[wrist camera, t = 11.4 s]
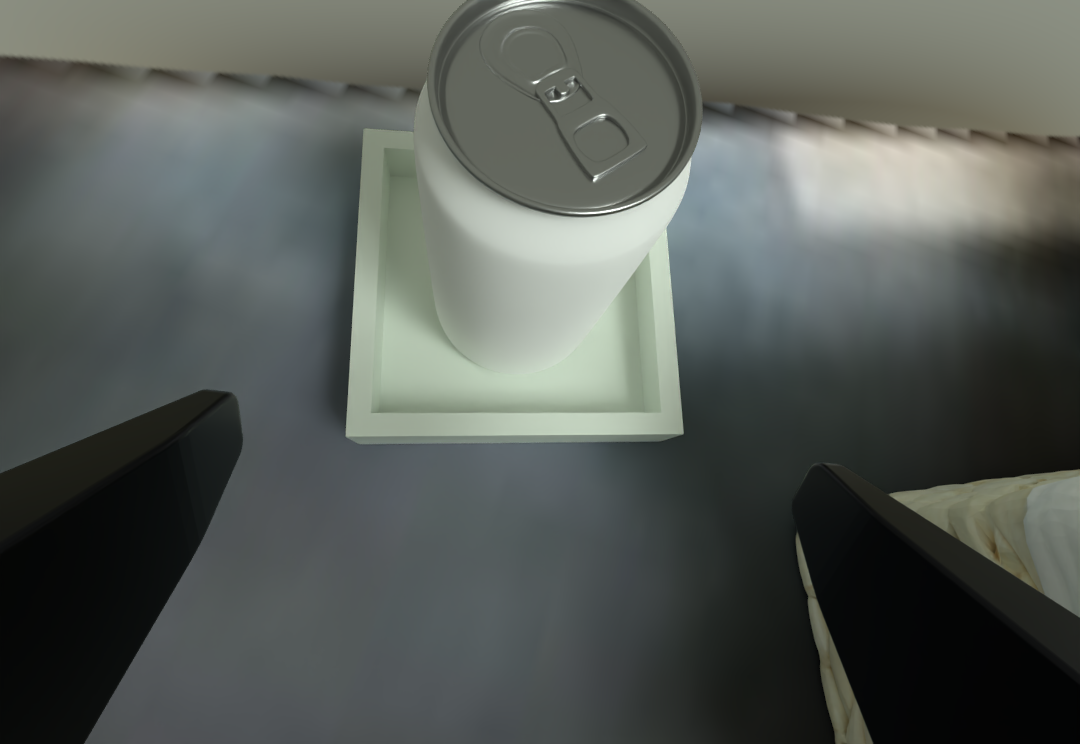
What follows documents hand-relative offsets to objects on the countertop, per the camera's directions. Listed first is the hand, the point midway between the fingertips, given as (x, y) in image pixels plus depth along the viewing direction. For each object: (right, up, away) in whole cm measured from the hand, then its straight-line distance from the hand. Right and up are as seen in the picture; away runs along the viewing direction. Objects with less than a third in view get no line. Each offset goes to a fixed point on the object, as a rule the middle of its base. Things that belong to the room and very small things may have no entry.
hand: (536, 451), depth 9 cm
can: (-1, +4, +14) cm, 15 cm away
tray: (-1, +4, +15) cm, 15 cm away
